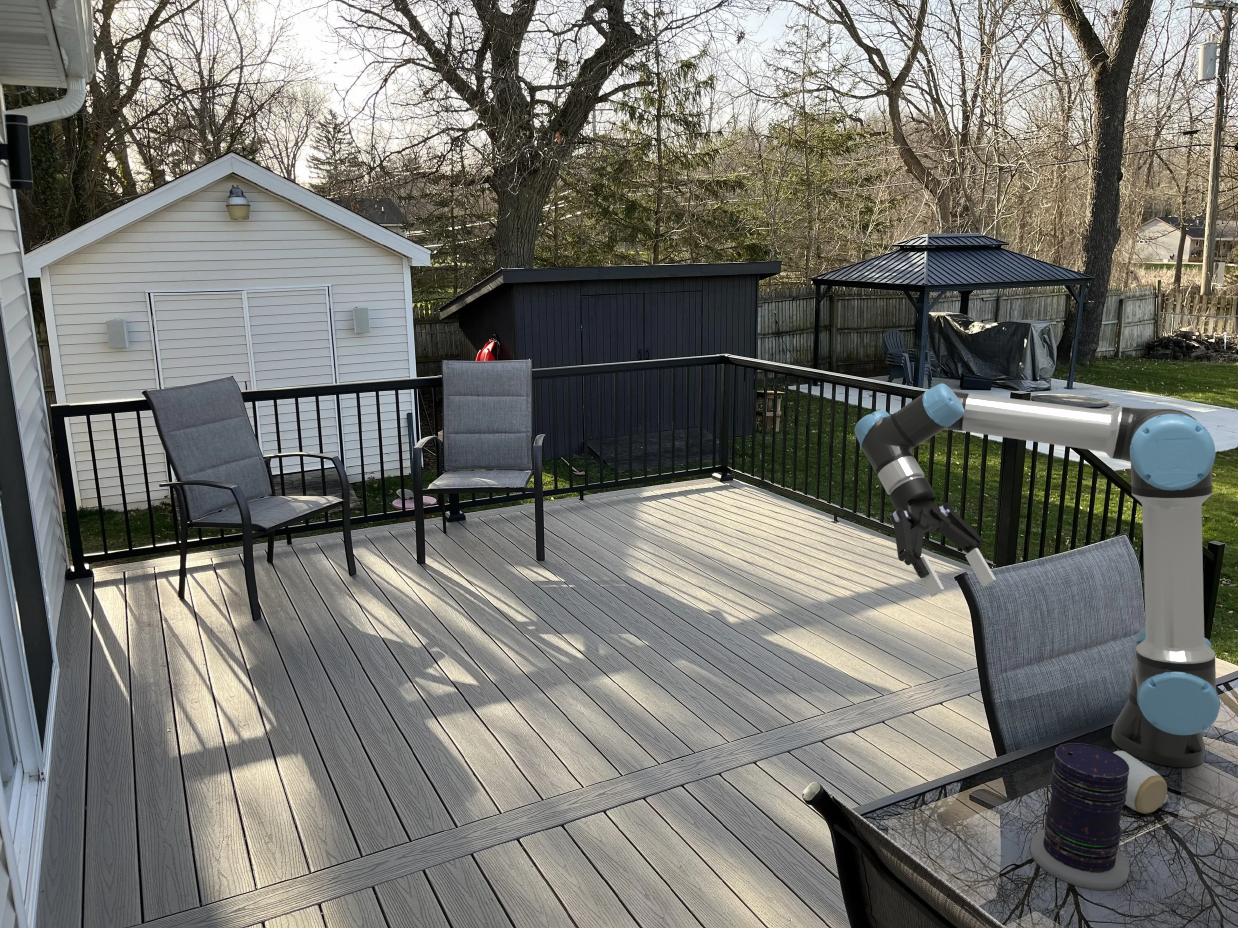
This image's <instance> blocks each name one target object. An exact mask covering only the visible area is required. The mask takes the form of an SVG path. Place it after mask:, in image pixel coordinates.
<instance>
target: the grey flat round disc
mask: <svg viewBox="0 0 1238 928" xmlns="http://www.w3.org/2000/svg"><path fill="white" fill-rule="evenodd" d="M1044 837H1045V828H1043V829H1040V830H1038V831H1036V832H1035V833H1034V834H1033V835H1032V837H1031V838H1032V839H1031V842H1030V855H1031V857H1032V859H1033V860H1034V861H1035V863H1036V864H1037V865H1038V867H1040V868H1041V869H1043V870H1044V871H1045V872H1046V873H1048V874H1049V875H1051V876H1053V877H1055V878H1057V879H1059V880H1061V881H1063V882H1065V883H1067V884H1070V885H1073V886H1077V887H1079V888H1083V889H1089V890H1095V891H1110V890H1111V891H1112V890H1117V889H1119V888H1121V887H1123V886H1124V885H1126V883H1127V881H1128V878H1129V871H1130V864H1129V861H1128V859H1127V858H1126V856H1125V855H1124V854H1123V853H1122V852H1121V851H1120V850H1119V849H1118V850H1117V855H1116V856H1115V857H1116V862H1115V866H1114V867H1113V868H1112V869H1111V870H1109V871H1106V872H1101V873H1092V872H1085V871H1080V870H1077V869H1074V868H1071V867H1068V866H1066V865H1064V864H1062V863H1060V862H1058V861H1057V860H1055V859H1054V858H1053V857H1051V856H1050V855H1049V854H1048V853H1047V851H1046V850H1045V848H1044V845H1043V841H1044Z"/></svg>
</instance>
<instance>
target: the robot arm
mask: <svg viewBox="0 0 1238 928" xmlns="http://www.w3.org/2000/svg"><path fill="white" fill-rule="evenodd" d="M943 430H948V431H956V432H967V433H974V434H979V435H980V434H982V435H988V436H995V437H1000V438H1001V437H1002V438H1008V439H1016V440H1021V441H1029V442H1035V443H1042V444H1049V445H1056V446H1061V447H1062V446H1063V447H1070V448H1077V449H1083V450H1089V451H1090V450H1091V451H1097V452H1103V453H1105V454H1106V455H1107V456H1108V457H1109V459H1113V460H1120V461H1126V462H1128V463H1129V462H1130V477H1131V478H1130V479H1131V480H1130V481H1131V482H1130V483H1131V484H1130V485H1131V495H1132V497H1134V498H1135V499H1136V500H1137V501H1138V502H1139V503H1140V504H1141V508H1142V541H1143V544H1142V545H1143V546H1142V548H1143V576H1144V577H1143V578H1144V579H1143V580H1144V582H1143V583H1144V586H1143V587H1144V617H1145V620H1144V622H1145V627H1142V628H1141V629H1139V632H1138V636H1137V639H1135V643H1136V648H1135V653H1134V654H1135V655H1134V661H1133V667H1132V672H1131V679H1130V685H1129V689H1128V690H1129V691H1128V698H1127V701H1126V702H1125V703H1126V704H1125V705H1124V707H1123V709H1122V710H1121V711H1120V712H1119V715H1118V717H1117V718H1116V720H1115V721H1114V723H1113V725H1112V730H1111V740H1112V742H1113V743H1114V744H1115V745H1116V746H1117V747H1118V748H1120V749H1121V751H1124V752H1126V753H1128V754H1130V755H1131V756H1133V757H1136V758H1139V759H1140V760H1143V761H1146V762H1150V763H1154V764H1157V765H1161V766H1166V767H1173V768H1192V767H1193V768H1195V767H1197V766H1200V765H1201V764H1202V763H1203V762H1204V757H1205V753H1206V752H1205V751H1206V746H1205V741H1204V736H1203V733H1202V732H1204V731H1205V730H1207V729H1209V728H1210V727H1211V726H1212V725H1213V724H1214V723H1215V721H1216V720H1217V718H1218V716H1219V713H1220V709H1221V699H1220V697H1219V694H1218V692H1217V679H1216V675H1217V674H1216V673H1217V672H1216V652H1215V650H1213V648H1212V643H1211V641H1210V639H1208V638H1206V637H1205V615H1204V614H1205V613H1204V611H1205V610H1204V609H1205V608H1204V572H1203V571H1204V570H1203V568H1204V565H1203V564H1204V563H1203V555H1204V554H1203V521H1202V519H1203V518H1202V517H1203V516H1202V515H1203V513H1202V512H1203V511H1202V509H1203V508H1202V505H1203V503H1204V502H1205V501H1206V500H1208V499H1209V498H1210V497H1211V496H1212V495H1213V472H1212V471H1213V466H1214V464H1215V460H1216V459H1215V458H1216V446H1215V442H1214V439H1213V437H1212V435H1211V433H1210V432H1209V430H1208V428H1206V426H1204V425H1203V424H1202V423H1201V422H1200V421H1198V420H1197V419H1196V418H1195V417H1193V416H1192V415H1190V414H1189V413H1187V412H1184V411H1182V410H1179V409H1173V408H1139V407H1128V406H1119V407H1117V408H1115V409H1114V410H1105V409H1098V408H1089V407H1081V406H1072V405H1066V404H1057V403H1050V402H1049V403H1048V402H1042V401H1041V402H1040V401H1033V400H1025V399H1017V398H1011V397H1008V398H1007V397H1002V396H1001V397H1000V396H992V395H984V394H977V393H966V392H961V391H953V390H952V389H951V387H949V386H948V385H947V384H945V383H938V384H937V385H935V386H933V387H932V388H929V389H927V390H925V391H924V392H923V393H922V394H921V395H919V396H918V397H916V398H914V399H913V400H912V401H910V402H909V403H907V404H906V405H904V406H903V407H902V408H900V409H899V410H898V411H895V412H893V413H892V414H889V412H887V411H886V410H876V411H873V412H871V413H870V414H866V415H865V416H862V418H861V419H859V420H858V422H857V423H856V425H855V427H854V434H855V437H856V439H857V441H858V443H859V446H860V448H861V450H862V452H863V453H864V455H865V456H866V458H867V460H868V462H869V463H870V465H871V466H872V469H873V470H874V472H875V473H876V476H877V478H878V479H879V481H880V483H881V484H882V487H883V488H884V490H885V492H886V494H887V495H889V499H890V502H891V504H892V505H893V507H894V509H895V510H894V512H893V513H892V514H890V517H889V518H890V520H891V522H892V524H893V527H894V534H895V535H894V536H895V544H896V553H897V558H898V560H899V561H900V562H903V563H904V564H905V565H906V566H910V565H911V566H912V567H913V569H914V571H915V572H916V574H917V577H918V578H920V579H921V580H922V582H923V584H924V586H925V588H926V589H927V591H928V594H929V595H930V597H935V596H936V595H938V594H939V593H941V592H942V591H944V590H945V587H944V586H943V584H942V582H941V580H940V579H939V577H938V575H937V573H936V571H935V569H934V567H933V565H932V564H931V562H930V561H929V558H928V557H927V556H926V555H923V556H922V551H923V545H924V534H925V533H927V532H929V533H936V534H940V535H942V536H943V537H945V538H946V539H947V540H949V541H950V542H952V543H953V544H954V545H956V546H957V547H959V548H960V549H961V550H962V551H964V552H965V553H967V554H965V558H966V560H967V562H968V563H969V565H970V567H971V569H972V570H973V572H974V574H975V575H976V578H977V580H978V581H979V582H980V584H981V586H982V588H986V587H987V586H989V585H990V584H992V583H993V582H995V581H996V580H997V578H996V576H995V574H994V573H993V572H992V570H991V568H990V566H989V565H988V561H987V559H986V558H985V556H984V554H983V552H982V551H981V549H980V547H983V545H984V544H985V540H984V538H982V537H981V536H980V535H979V533H977V532H976V530H974V529H973V528H972V527H971V526H970V525H969V524H968V523H967V522H966V521H965V520H964V519H963V518H961V516H960V515H959V514H958V513H957V512H956V511H955V510H954V508H953V507H952V505H951V504H950V503H949V502H945V503H944V504H943V505H941V506H938V504H937V503H936V502H935V496H936V495H935V494H936V492H935V491H934V489H933V487H932V486H931V484H930V482H929V481H928V480H929V479H927V478H926V477H925V473H924V471H923V470H922V468H921V467H920V465H919V463H918V461H917V460H916V458H915V457H914V455H913V453H912V450H913V449H915V448H916V447H918V446H919V445H921V444H922V443H925V442H926V441H927V440H929V439H931V438H932V437H933V436H936V435H937V434H939V433H940V432H942V431H943Z"/></svg>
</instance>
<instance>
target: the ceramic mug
mask: <svg viewBox="0 0 1238 928" xmlns="http://www.w3.org/2000/svg"><path fill="white" fill-rule="evenodd" d="M1113 753H1115V754H1117V755H1118V756H1120V757H1121V758H1123V759H1124V760H1125V761H1126V762H1127V763H1128V765H1129V775H1128V789H1127V794H1126V802H1125V804H1124V806H1127V807H1128V808H1129V809H1131V810H1133V811H1135V812H1138V813H1141V814H1150V813H1153V812H1156V810H1158V809H1159V808H1160V807H1161V806H1162V804H1164V805H1165V804H1166V803H1167V801H1168V800H1169V797H1170V796H1169V795H1168V784H1167V782H1166V780H1165V779H1164V777H1163V776H1161V774H1160V773H1158V771H1155V770H1154V769H1152V768H1151V767H1149V766H1147V765H1146V764H1145V763H1143V762H1141V761H1140V760H1139V759H1137V758H1135V756H1133V755H1131V754H1129V753H1127V752H1126V751H1124V750H1116V751H1113Z"/></svg>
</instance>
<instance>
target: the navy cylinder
mask: <svg viewBox="0 0 1238 928" xmlns="http://www.w3.org/2000/svg"><path fill="white" fill-rule="evenodd" d="M1113 752H1114V751H1113ZM1113 752H1112V751H1110V750H1108V749H1106V748H1103V747H1100V746H1096V745H1092V744H1087V743H1078V742H1077V743H1076V742H1074V743H1073V742H1071V743H1065V744H1064V743H1063V744H1060V745H1059V746H1057V747H1056V748H1055V752H1054V759H1053V765H1052V769H1051V778H1050V788H1051V795H1050V801H1049V802H1050V804H1049V806H1048V807H1047V809H1046V812H1045V821H1044V829H1045V837H1044V841H1043V845H1044V848H1045V850H1046V851H1047V853H1048V854H1049V855H1050V856H1051V857H1053V858H1054V859H1055V860H1057V861H1058V862H1060V863H1062V864H1064V865H1066V866H1068V867H1071V868H1074V869H1077V870H1080V871H1085V872H1092V873H1101V872H1106V871H1109V870H1111V869H1112V868H1113V867H1114V866H1115V862H1116V857H1115V856H1116V855H1117V850H1119V847H1120V842H1121V841H1120V839H1121V836H1122V832H1121V831H1122V829H1121V828H1122V827H1121V825H1120V822H1121V815H1122V809H1123V808H1124V806H1125V802H1126V794H1127V789H1128V775H1129V765H1128V763H1127V762H1126V761H1125V760H1124V759H1123V758H1121V757H1120V756H1118V755H1117V754H1115V753H1113Z"/></svg>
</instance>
